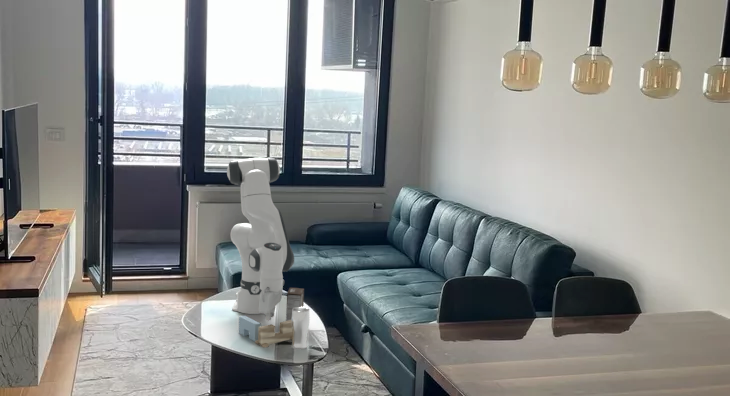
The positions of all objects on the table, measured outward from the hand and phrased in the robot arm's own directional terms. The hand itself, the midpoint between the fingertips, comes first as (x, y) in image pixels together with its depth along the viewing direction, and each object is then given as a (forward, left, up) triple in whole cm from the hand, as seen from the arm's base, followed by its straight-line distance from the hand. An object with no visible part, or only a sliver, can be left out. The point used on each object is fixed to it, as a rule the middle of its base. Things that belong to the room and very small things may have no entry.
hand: (269, 318), depth 274 cm
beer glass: (+11, +11, -8) cm, 17 cm away
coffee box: (-12, +12, -8) cm, 19 cm away
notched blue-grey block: (-3, -8, -8) cm, 12 cm away
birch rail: (+4, +3, -8) cm, 9 cm away
